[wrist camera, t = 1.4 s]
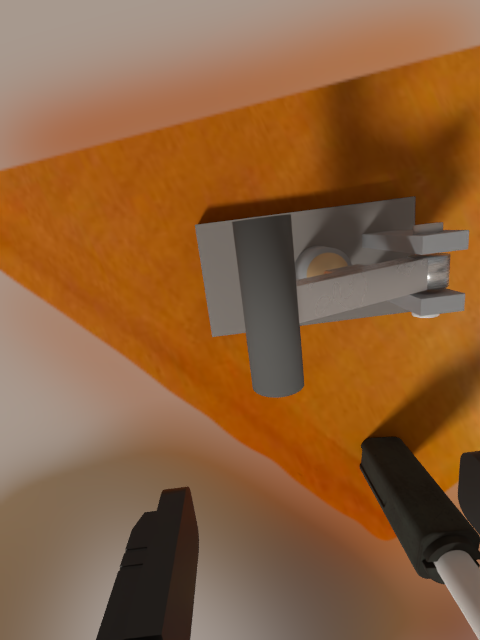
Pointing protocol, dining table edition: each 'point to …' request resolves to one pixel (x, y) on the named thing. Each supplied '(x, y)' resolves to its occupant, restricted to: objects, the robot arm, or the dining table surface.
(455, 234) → the base
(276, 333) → the lever
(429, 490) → the black and grey rod
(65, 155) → the dining table surface
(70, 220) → the dining table surface
